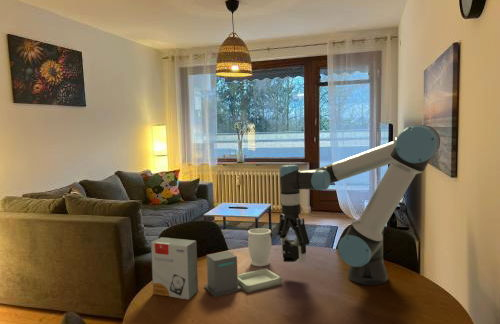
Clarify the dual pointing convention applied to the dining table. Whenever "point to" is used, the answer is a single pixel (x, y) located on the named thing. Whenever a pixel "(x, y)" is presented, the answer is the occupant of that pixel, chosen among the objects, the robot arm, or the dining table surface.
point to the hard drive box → (174, 267)
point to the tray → (258, 280)
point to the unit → (222, 273)
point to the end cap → (291, 250)
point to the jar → (259, 246)
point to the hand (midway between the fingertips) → (293, 257)
